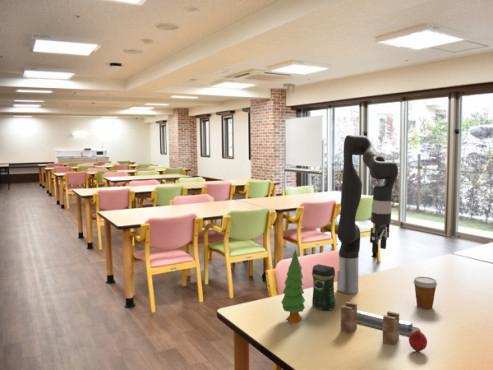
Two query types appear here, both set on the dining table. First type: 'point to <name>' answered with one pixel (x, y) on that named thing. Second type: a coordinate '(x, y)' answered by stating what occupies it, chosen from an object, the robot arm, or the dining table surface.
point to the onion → (418, 340)
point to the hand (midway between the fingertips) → (379, 250)
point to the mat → (382, 327)
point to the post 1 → (349, 317)
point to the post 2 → (391, 328)
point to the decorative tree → (293, 291)
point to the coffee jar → (323, 287)
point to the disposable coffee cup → (425, 291)
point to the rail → (379, 320)
